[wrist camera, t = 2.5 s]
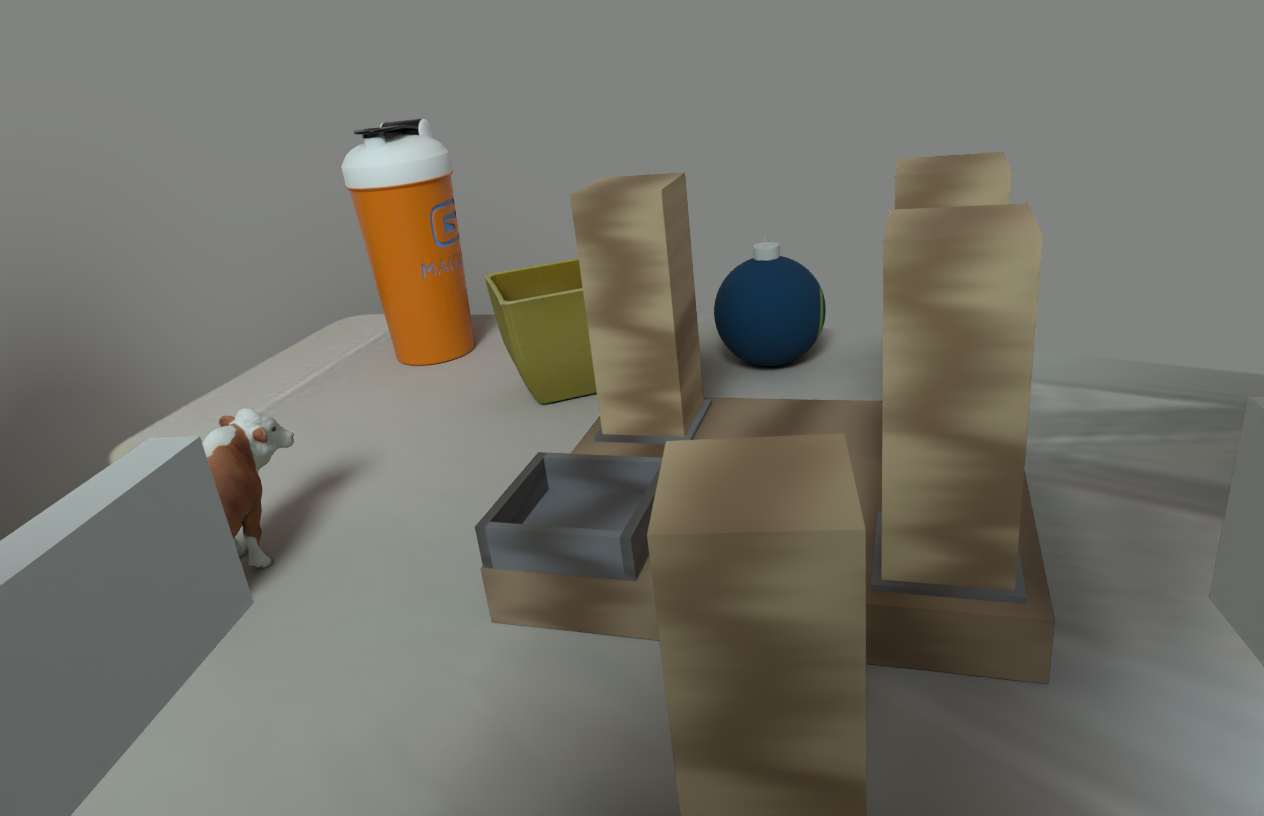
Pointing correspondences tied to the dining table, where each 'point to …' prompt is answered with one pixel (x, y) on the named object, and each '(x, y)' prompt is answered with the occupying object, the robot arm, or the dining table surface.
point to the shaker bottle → (412, 239)
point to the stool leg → (762, 624)
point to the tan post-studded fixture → (810, 428)
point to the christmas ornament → (769, 308)
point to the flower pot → (545, 328)
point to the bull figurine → (244, 472)
